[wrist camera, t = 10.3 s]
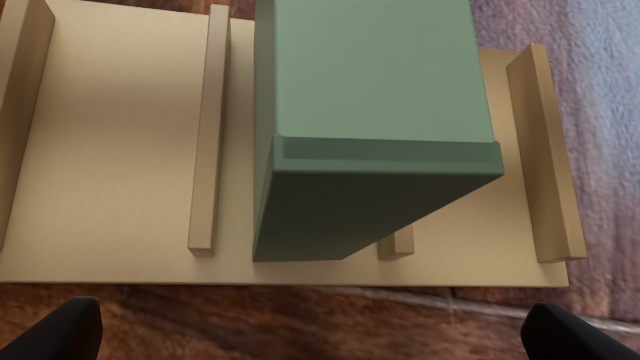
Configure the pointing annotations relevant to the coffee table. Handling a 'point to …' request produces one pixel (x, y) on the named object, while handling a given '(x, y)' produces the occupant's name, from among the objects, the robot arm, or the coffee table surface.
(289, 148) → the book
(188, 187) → the rack
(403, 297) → the coffee table surface
